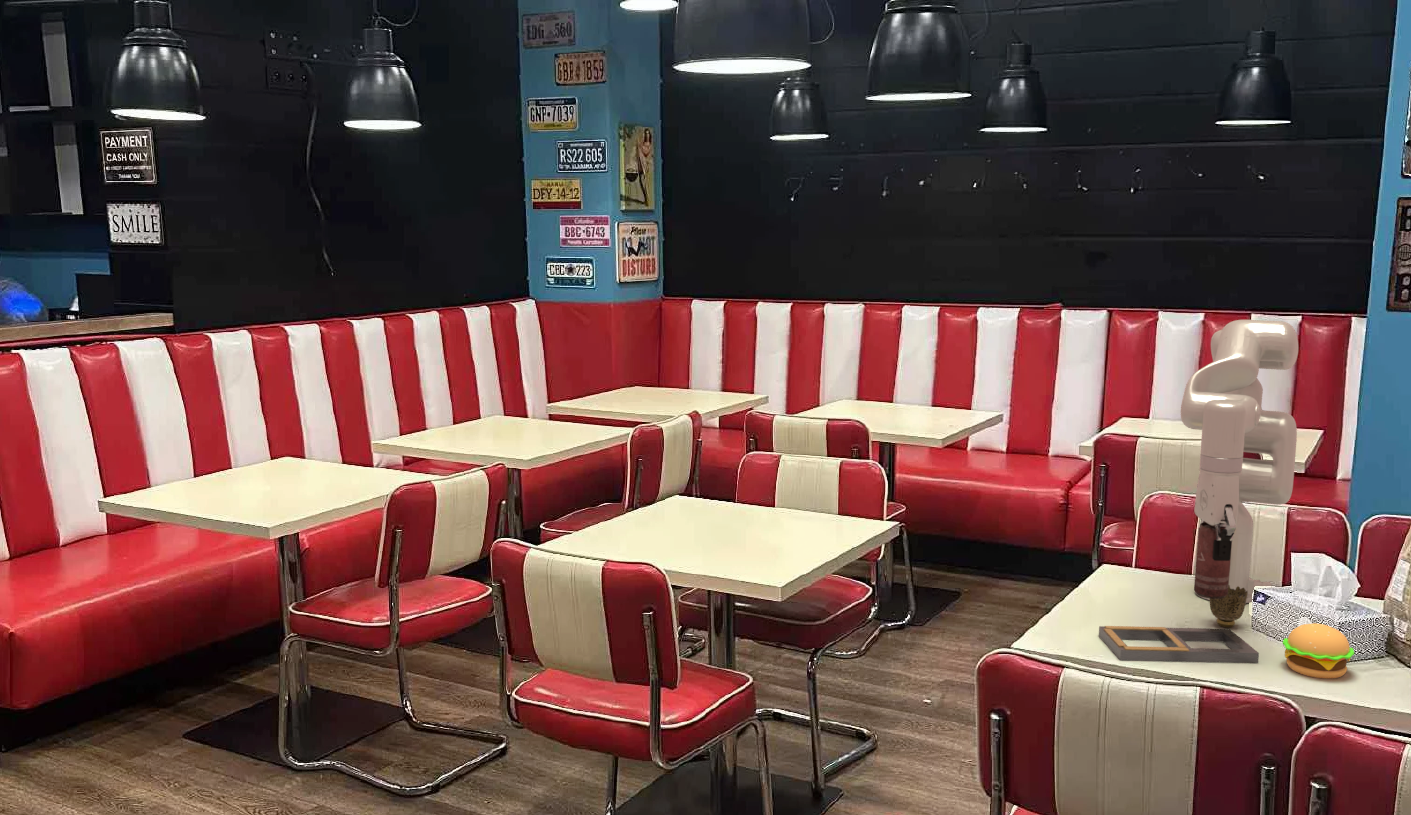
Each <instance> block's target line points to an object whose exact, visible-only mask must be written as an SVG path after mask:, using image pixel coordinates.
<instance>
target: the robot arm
mask: <svg viewBox="0 0 1411 815" xmlns="http://www.w3.org/2000/svg"><path fill="white" fill-rule="evenodd" d="M1295 329H1296V328H1294V327H1293V326H1292V324H1290V323H1288V322H1285V321H1283V320H1282V321H1281V320H1266V319H1265V320H1263V319H1261V320H1260V319H1238V320H1237V319H1235V320H1233V321H1230V322H1228V323H1227V324H1226V325H1225V326H1223V328H1222V329H1220V330H1217V331H1215V332H1214V333H1213V334H1212V337H1211V338H1210V352H1211V357H1212V362H1210V363H1209V364H1206V365H1205V366H1203V367H1201V368H1200V369H1199V370H1197V371H1196V372H1195V373H1194V374H1192V375H1191V376H1190V378H1189V379H1188V381H1187V383H1186V384H1185V388H1184V391H1183V396H1182V400H1181V405H1180V419H1181V421H1182V424H1183V425H1184V426H1185V427H1187V428H1188V429H1191V430H1196V431H1197V430H1199V431H1201V441H1200V453H1199V454H1200V456H1199V469H1198V470H1199V473H1198V480H1197V485H1196V491H1195V492H1196V493H1195V501H1194V511H1193V512H1194V514H1195V515H1196V517H1197V518H1199V519H1200V523H1199V526H1200V525H1201V523H1203V522H1206V523H1208V524H1209V525H1211V526H1214V525H1215V533H1216V540H1214V544H1213V560H1215V561H1229V560H1230V558H1231V560H1230V573H1229V585H1230V588H1231V589H1236V587H1237V586H1238V587H1240V589H1241V588H1244V589H1245V590H1246V591H1247V592H1248V594H1247V599H1246V604H1250V603H1253V602H1252V600H1253V599H1252V593H1253V592H1254V591H1253V590H1254V587H1255V586H1271V587H1272V583H1271V581H1261V580H1260V579H1253V578H1251V577H1250V575H1251V574H1250V573H1251V572H1250V571H1251V562H1252V561H1251V560H1252V548H1253V547H1252V546H1253V536H1254V519H1253V517H1252V515H1251V513H1250V512H1249V510H1248V509H1247V507H1246V506H1245V505H1244V504H1243V503H1255V504H1264V505H1265V504H1266V505H1277V506H1279V505H1285V504H1287V503H1288V502H1290V499H1291V497H1292V494H1293V488H1294V479H1295V478H1294V477H1295V464H1296V454H1297V452H1296V451H1297V443H1298V442H1297V441H1298V440H1297V438H1298V436H1297V435H1298V429H1297V423H1296V420H1295V418H1294V417H1293V415H1291V414H1290V413H1287V412H1284V411H1276V410H1263V409H1262V404H1263V402H1262V401H1263V391H1264V389H1263V386H1262V384H1261V381H1260V380H1259V378H1258V375H1259V372H1260V371H1259V370H1260V369H1261V370H1278V371H1281V370H1282V371H1283V370H1286V371H1287V370H1290V369H1291V368H1292V367H1293V366H1294V365H1295V363H1296V362H1297V359H1298V355H1299V340H1298V335H1297V332H1296V330H1295ZM1244 453H1251V454H1252V453H1253V454H1263V455H1264V454H1265V455H1269V456H1270V457H1271V458H1272V460H1269V459H1268V460H1267V459H1266V460H1265V459H1259V458H1258V459H1257V458H1256V459H1255V458H1250V457H1249V458H1248V457H1244ZM1219 523H1224V524H1219ZM1220 528H1226V529H1223V530H1222V532H1221V531H1220ZM1231 545H1232V547H1231ZM1194 594H1195V595H1197V594H1196V593H1195V592H1194ZM1197 596H1198V595H1197ZM1198 597H1200V598H1202V599H1205V600H1207V601H1210V600H1209V598H1205V597H1201V596H1198Z"/></svg>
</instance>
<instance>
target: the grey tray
mask: <svg viewBox="0 0 1411 815" xmlns="http://www.w3.org/2000/svg"><path fill="white" fill-rule="evenodd" d="M1098 637H1099V638H1100V639H1101V641H1102V642H1103V643H1104V644H1105V645H1106V646H1107V647H1108V649H1110V651H1111V652H1112V653H1113V654H1114V655H1115V657H1117V659H1118V660H1119V661H1139V662H1182V663H1183V662H1186V663H1189V662H1190V663H1191V662H1193V663H1235V664H1236V663H1238V664H1239V663H1242V664H1259V654H1260V653H1259V652H1258V651H1257V650H1256V649H1254V647H1252V646H1251V645H1250V644H1249V643H1247V642H1246V641H1245V640H1243V639H1242V638H1241V637H1240V636H1239V635H1238V634H1236V633H1235V631H1232V629H1230V628H1207V627H1206V628H1203V627H1200V628H1199V627H1198V628H1197V627H1192V628H1191V627H1165V626H1128V625H1127V626H1126V625H1125V626H1124V625H1123V626H1122V625H1104V626H1103V625H1102V626H1101V625H1100V626H1099V627H1098ZM1123 640H1124V641H1125V640H1126V641H1127V640H1128V641H1129V640H1130V641H1135V640H1136V641H1162V642H1163V643H1164V644H1165V645H1166V646H1128V644H1126V642H1124V641H1123ZM1186 642H1223V644H1225V645H1226V646H1227V647H1228V648H1210V647H1209V648H1206V647H1205V648H1203V647H1201V648H1200V647H1191V646H1190V645H1188V643H1186Z"/></svg>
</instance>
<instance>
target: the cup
mask: <svg viewBox="0 0 1411 815" xmlns="http://www.w3.org/2000/svg"><path fill="white" fill-rule="evenodd" d="M1247 594H1248V592H1247V591H1246V590H1245V589H1244V588H1241V589H1240V587H1238V586H1237V587H1236V589H1231V588H1230V585H1229V586H1228V594H1227V596H1226V597H1225V598H1222V599H1210V598H1209V600H1208V601H1209V607H1210V608H1209V609H1210V612H1211V614H1212V615H1213V616H1214V617H1215V618H1216V621H1215V622H1216V624H1217V625H1218V626H1219V627H1221V628H1224V629H1230V628H1234V627H1235V625H1236V621H1237V620H1239V619H1240V618H1241V617H1242V615H1243V614H1244V611H1245V607H1246V604H1247V603H1246V599H1247Z"/></svg>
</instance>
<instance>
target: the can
mask: <svg viewBox="0 0 1411 815" xmlns="http://www.w3.org/2000/svg"><path fill="white" fill-rule="evenodd" d="M1219 524H1224V523H1219ZM1223 529H1226V528H1220V531H1221V532H1222V530H1223ZM1214 540H1216V533H1215V525H1214V526H1211V525H1209V524H1208V523H1206V522H1203V523H1201V525H1200V524H1199V527H1198V531H1197V542H1196V544H1197V545H1196V556H1195V557H1196V558H1195V568H1194V569H1195V570H1194V583H1193V584H1194V586H1193V591H1194V594H1195V593H1196V594H1197V596H1198V597H1199V596H1201V597H1200V598H1202V597H1205V598H1210V599H1222V598H1225V597H1226V596H1227V594H1228V586H1229V573H1230V560H1231V558H1230V560H1229V561H1215V560H1213V544H1214ZM1231 547H1232V545H1231ZM1196 594H1195V595H1196Z"/></svg>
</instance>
